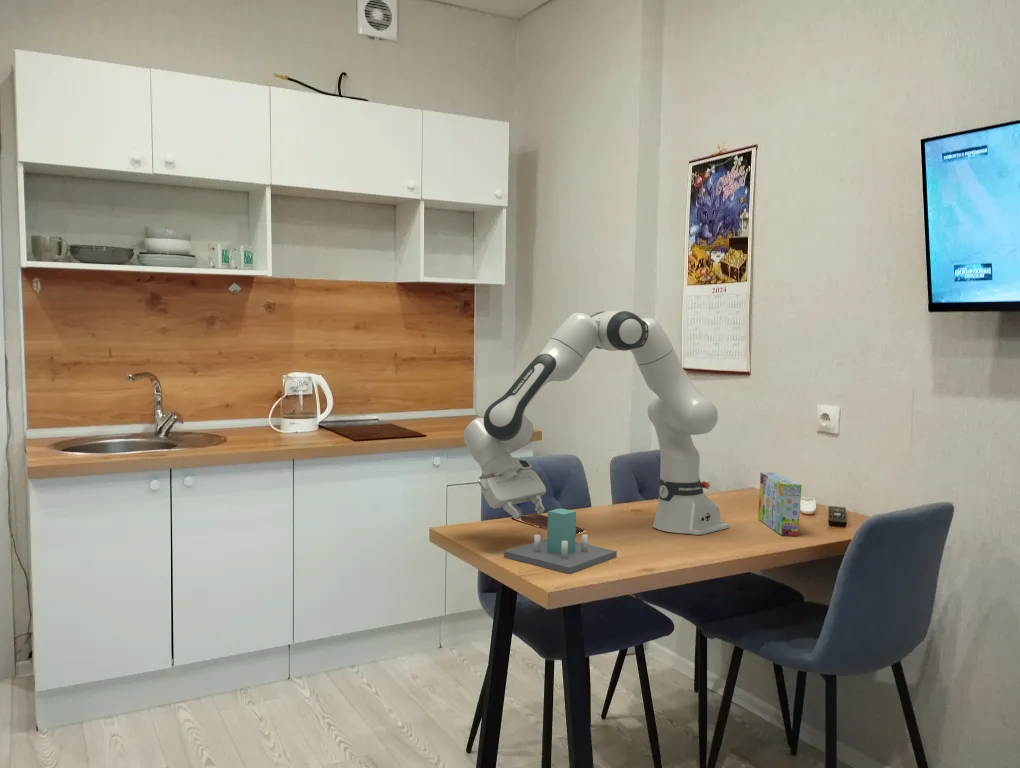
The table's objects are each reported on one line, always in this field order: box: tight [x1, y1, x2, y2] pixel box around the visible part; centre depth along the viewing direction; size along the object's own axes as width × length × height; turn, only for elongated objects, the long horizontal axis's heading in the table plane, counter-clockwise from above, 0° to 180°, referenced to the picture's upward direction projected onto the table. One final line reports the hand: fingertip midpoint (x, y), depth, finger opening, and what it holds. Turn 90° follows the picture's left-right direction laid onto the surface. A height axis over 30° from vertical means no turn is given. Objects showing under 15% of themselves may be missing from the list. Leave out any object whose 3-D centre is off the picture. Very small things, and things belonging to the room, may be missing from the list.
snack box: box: [757, 471, 803, 537], centre depth 232 cm, size 21×6×15 cm, turn 0°
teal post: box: [546, 508, 577, 554], centre depth 196 cm, size 5×5×10 cm
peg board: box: [503, 534, 618, 575], centre depth 196 cm, size 20×20×6 cm
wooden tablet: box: [511, 512, 585, 534], centre depth 230 cm, size 26×2×10 cm
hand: (530, 514), depth 202 cm, fingers open, 8 cm apart
